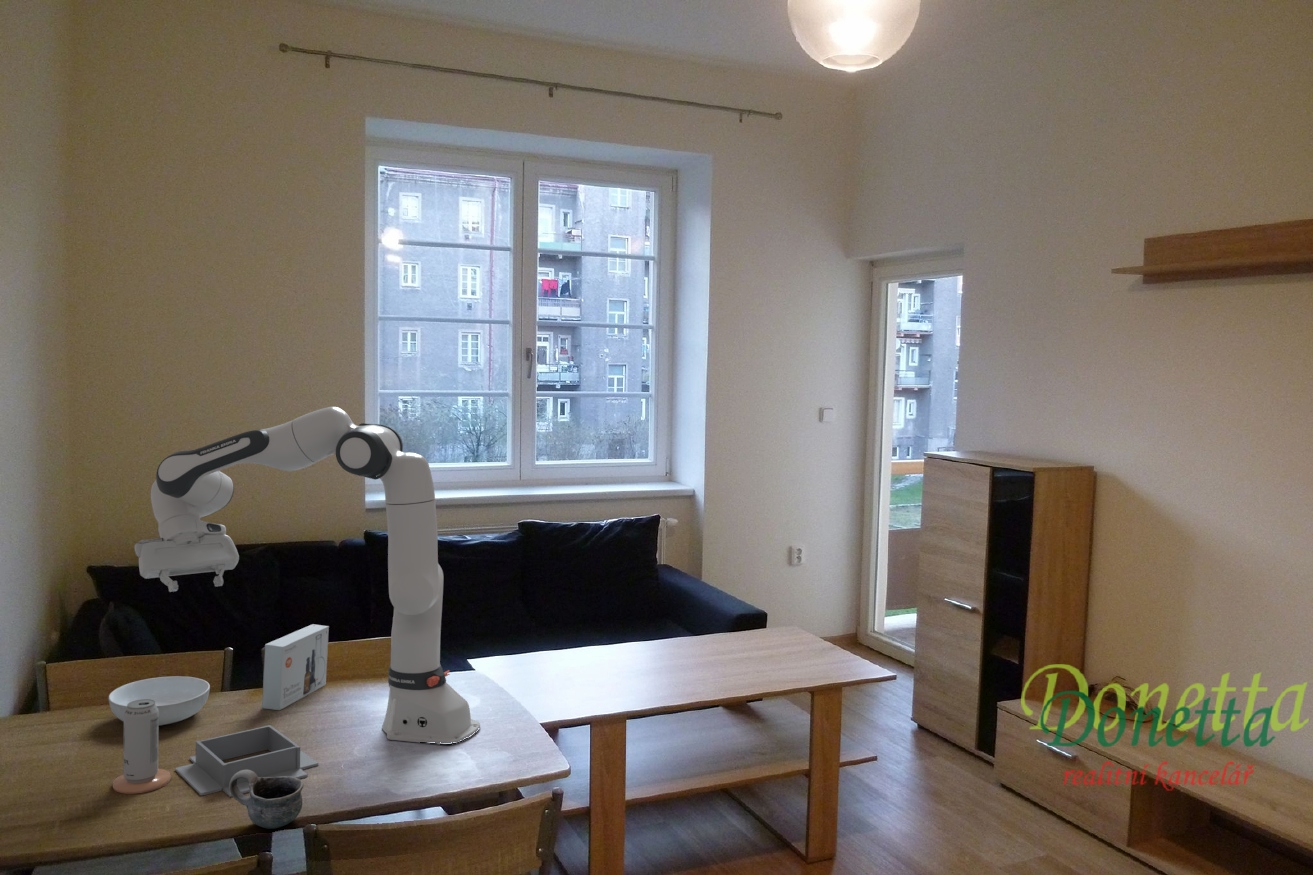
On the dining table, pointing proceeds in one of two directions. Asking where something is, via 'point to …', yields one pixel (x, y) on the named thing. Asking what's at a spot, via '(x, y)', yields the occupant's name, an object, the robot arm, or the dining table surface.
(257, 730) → the grey open box
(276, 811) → the mug
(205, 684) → the serving bowl
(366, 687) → the dining table surface
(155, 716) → the energy drink can
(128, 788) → the coaster
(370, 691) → the dining table surface
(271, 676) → the skincare box
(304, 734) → the dining table surface
